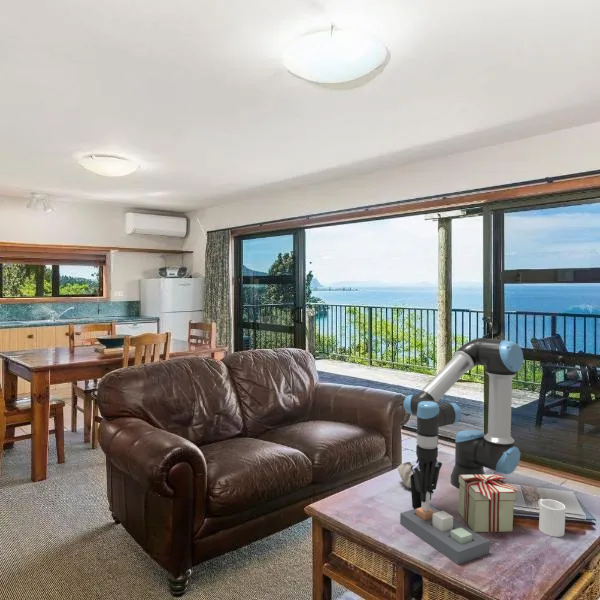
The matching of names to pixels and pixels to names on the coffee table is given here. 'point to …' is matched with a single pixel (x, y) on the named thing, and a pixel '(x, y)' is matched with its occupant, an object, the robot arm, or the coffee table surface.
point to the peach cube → (424, 514)
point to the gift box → (486, 502)
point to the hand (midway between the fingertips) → (425, 509)
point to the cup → (415, 494)
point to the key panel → (445, 538)
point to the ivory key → (442, 521)
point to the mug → (551, 517)
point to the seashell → (406, 473)
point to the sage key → (461, 536)
